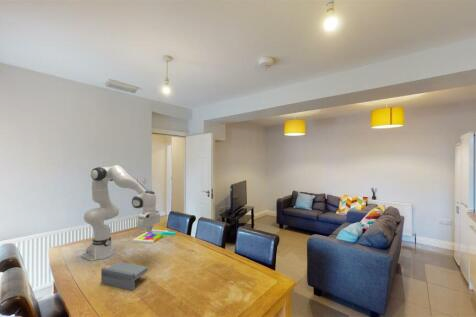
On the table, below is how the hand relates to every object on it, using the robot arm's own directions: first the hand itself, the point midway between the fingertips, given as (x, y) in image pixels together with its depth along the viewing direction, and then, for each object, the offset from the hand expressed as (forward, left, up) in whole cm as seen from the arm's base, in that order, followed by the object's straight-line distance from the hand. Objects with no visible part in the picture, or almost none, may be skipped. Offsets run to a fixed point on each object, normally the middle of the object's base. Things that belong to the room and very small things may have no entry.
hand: (149, 231), depth 157 cm
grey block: (0, -22, -24) cm, 32 cm away
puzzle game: (-31, +45, -25) cm, 60 cm away
